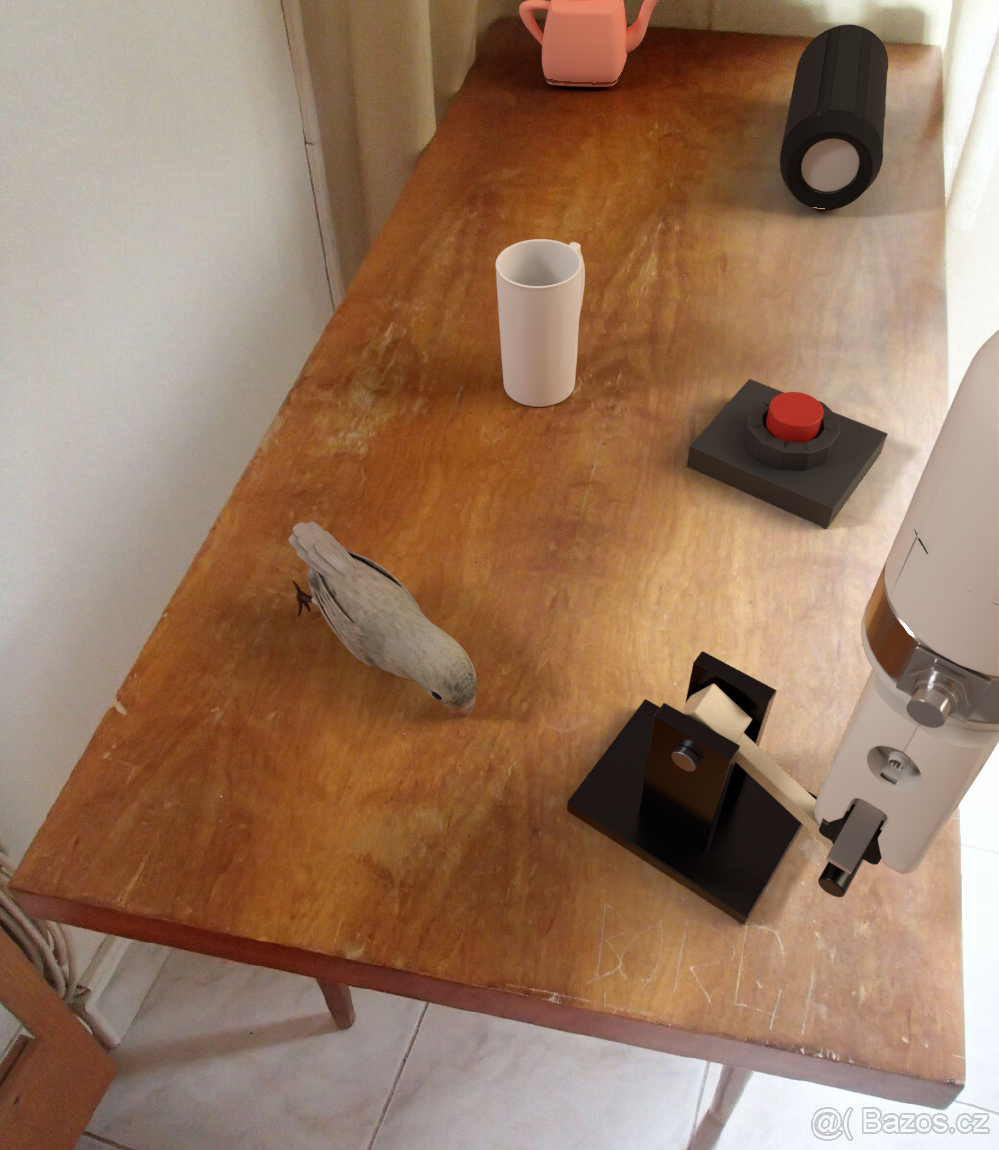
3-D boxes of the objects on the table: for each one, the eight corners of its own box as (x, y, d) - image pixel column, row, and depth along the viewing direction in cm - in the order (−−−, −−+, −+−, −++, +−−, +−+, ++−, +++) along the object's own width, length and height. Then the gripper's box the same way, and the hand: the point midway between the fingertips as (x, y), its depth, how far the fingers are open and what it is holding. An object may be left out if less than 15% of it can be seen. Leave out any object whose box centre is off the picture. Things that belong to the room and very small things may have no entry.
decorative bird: (443, 746, 63) (433, 680, 57) (285, 615, 71) (262, 545, 65) (500, 693, 66) (496, 625, 60) (341, 572, 73) (324, 500, 67)
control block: (880, 454, 79) (894, 415, 76) (826, 529, 74) (839, 491, 71) (745, 399, 84) (752, 360, 81) (686, 466, 79) (691, 428, 76)
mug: (549, 420, 83) (550, 297, 74) (485, 392, 86) (478, 270, 76) (612, 357, 88) (620, 235, 79) (549, 332, 91) (550, 212, 82)
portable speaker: (868, 224, 100) (894, 127, 93) (769, 214, 102) (786, 118, 95) (876, 110, 116) (899, 19, 108) (790, 103, 118) (806, 12, 110)
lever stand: (814, 806, 60) (863, 699, 51) (744, 925, 55) (783, 832, 46) (643, 708, 64) (659, 594, 55) (566, 811, 60) (569, 705, 51)
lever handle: (865, 827, 54) (895, 821, 52) (826, 900, 52) (856, 895, 50) (703, 677, 54) (726, 664, 52) (656, 741, 52) (679, 731, 50)
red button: (827, 421, 76) (832, 403, 75) (804, 450, 74) (809, 433, 73) (780, 402, 78) (784, 384, 77) (756, 430, 76) (760, 413, 75)
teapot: (526, 52, 130) (525, -36, 122) (664, 56, 128) (672, -34, 120) (513, 91, 123) (511, 0, 115) (659, 96, 120) (668, 4, 112)
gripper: (1007, 831, 32) (861, 1004, 46) (1134, 546, 39) (975, 770, 53) (792, 714, 35) (717, 910, 49) (948, 470, 42) (845, 701, 56)
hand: (852, 837), depth 51 cm, fingers closed
